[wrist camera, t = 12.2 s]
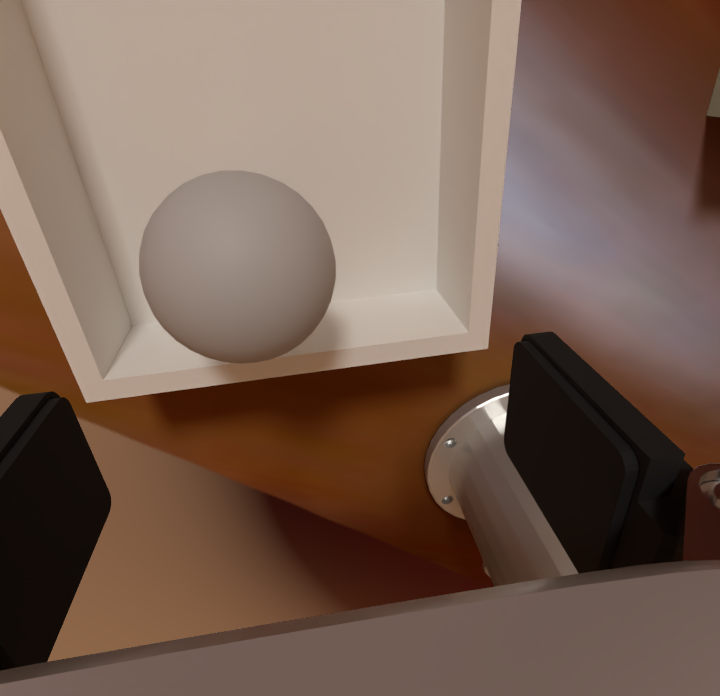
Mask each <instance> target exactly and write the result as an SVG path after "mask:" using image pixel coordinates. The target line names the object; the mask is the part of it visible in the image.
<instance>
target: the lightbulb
mask: <svg viewBox="0 0 720 696" xmlns="http://www.w3.org/2000/svg"><path fill="white" fill-rule="evenodd" d="M139 275H140V280H141V284H142V288H143V292H144V295H145V298H146V300H147V302H148V304H149V307H150V309H151V311H152V313H153V315H154V316H155V318H156V319H157V320H158V322H159V323H160V325H161V326H162V327H163V329H164V330H165V331H167V332H168V333H169V334H170V335H171V336H172V337H173V338H174V339H175V340H176V341H177V342H179V343H180V344H182V345H183V346H185V347H186V348H188V349H189V350H191V351H193V352H195V353H198V354H200V355H202V356H204V357H207V358H210V359H214V360H218V361H222V362H229V363H239V364H242V363H257V362H261V361H266V360H270V359H274V358H276V357H278V356H281V355H283V354H285V353H288V352H289V351H291V350H292V349H294V348H295V347H297V346H298V345H300V344H301V343H302V342H303V341H304V340H305V339H306V338H307V337H308V336H309V335H311V334H312V332H313V331H314V330H315V329H316V327H317V326H318V324H319V323H320V322H321V320H322V319H323V317H324V316H325V314H326V311H327V309H328V307H329V304H330V302H331V299H332V295H333V290H334V285H335V280H336V260H335V255H334V251H333V246H332V242H331V239H330V237H329V234H328V232H327V230H326V227H325V225H324V223H323V221H322V220H321V218H320V217H319V215H318V214H317V213H316V211H315V210H314V208H313V207H312V206H311V205H310V204H309V203H308V202H307V201H306V200H305V199H304V198H303V197H302V196H301V195H300V194H299V193H297V192H296V191H294V190H293V189H291V188H290V187H288V186H287V185H285V184H284V183H282V182H280V181H277V180H275V179H273V178H270V177H268V176H265V175H263V174H258V173H253V172H247V171H242V170H237V171H217V172H213V173H208V174H204V175H200V176H198V177H196V178H194V179H192V180H189V181H187V182H185V183H183V184H182V185H181V186H179V187H178V188H177V189H175V190H174V191H173V192H171V193H170V194H169V195H168V196H167V197H166V198H165V199H164V200H163V202H162V203H161V204H160V205H159V206H158V208H157V209H156V210H155V211H154V212H153V214H152V216H151V218H150V220H149V222H148V224H147V226H146V228H145V230H144V233H143V238H142V242H141V247H140V253H139Z"/></svg>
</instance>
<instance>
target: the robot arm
mask: <svg viewBox="0 0 720 696" xmlns="http://www.w3.org/2000/svg"><path fill="white" fill-rule="evenodd" d="M684 456H685V453H684V452H683V451H682V450H681V449H679V448H678V447H677V446H676V445H675V444H674V443H673V442H672V441H671V440H670V439H669V438H668V437H666V436H665V435H664V434H663V433H662V432H661V431H660V430H659V429H658V428H657V427H656V426H655V425H653V424H652V423H651V422H650V421H649V420H648V419H647V418H646V417H645V416H644V415H643V414H641V413H640V412H639V411H638V410H637V409H636V408H635V407H634V406H633V405H632V404H631V403H630V402H628V401H627V400H626V399H625V398H624V397H623V396H622V395H621V394H620V393H619V392H618V391H617V390H615V389H614V388H613V387H612V386H611V385H610V384H609V383H608V382H607V381H606V380H605V379H604V378H602V377H601V376H600V375H599V374H598V373H597V372H596V371H595V370H594V369H593V368H592V367H590V366H589V365H588V364H587V363H586V362H585V361H584V360H583V359H582V358H581V357H580V356H579V355H577V354H576V353H575V352H574V351H573V350H572V349H571V348H570V347H569V346H568V345H567V344H566V343H564V342H563V341H562V340H561V339H560V338H559V337H558V336H557V335H556V334H555V333H553V332H543V333H535V334H526V335H524V336H523V338H522V340H521V342H517V343H516V344H515V346H514V351H513V360H512V369H511V378H510V384H509V385H505V386H501V387H497V388H495V389H492V390H490V391H488V392H485V393H483V394H481V395H479V396H477V397H475V398H474V399H472V400H470V401H469V402H467V403H465V404H464V405H463V406H461V407H460V408H459V409H458V410H457V411H455V412H454V413H453V414H452V415H450V417H449V418H448V419H447V420H446V421H445V422H444V423H443V424H442V425H441V427H440V428H439V429H438V431H437V432H436V434H435V435H434V437H433V439H432V440H431V442H430V445H429V447H428V450H427V453H426V457H425V464H424V471H425V479H426V482H427V485H428V488H429V490H430V493H431V495H432V496H433V498H434V500H435V502H436V503H437V504H438V505H439V506H440V507H441V508H442V509H443V510H445V511H446V512H448V513H450V514H451V515H453V516H455V517H458V518H461V519H464V520H466V521H467V524H468V526H469V528H470V531H471V533H472V535H473V538H474V540H475V542H476V545H477V547H478V549H479V552H480V554H481V556H482V559H483V565H482V567H483V570H484V572H485V573H486V574H487V575H488V576H489V577H491V580H492V582H493V584H494V587H490V588H484V589H477V590H471V591H465V592H459V593H453V594H447V595H441V596H434V597H428V598H422V599H416V600H409V601H403V602H398V603H391V604H385V605H379V606H373V607H367V608H361V609H355V610H349V611H343V612H337V613H331V614H325V615H320V616H313V617H307V618H301V619H295V620H289V621H283V622H278V623H271V624H266V625H260V626H254V627H248V628H242V629H236V630H231V631H224V632H218V633H212V634H207V635H200V636H195V637H189V638H183V639H177V640H171V641H166V642H160V643H154V644H148V645H142V646H137V647H131V648H126V649H119V650H114V651H108V652H102V653H96V654H90V655H85V656H79V657H74V658H67V659H62V660H57V661H51V662H47V661H48V658H49V656H50V653H51V651H52V648H53V646H54V643H55V641H56V639H57V636H58V634H59V632H60V629H61V627H62V625H63V622H64V620H65V617H66V615H67V613H68V610H69V608H70V605H71V603H72V600H73V598H74V596H75V593H76V591H77V588H78V586H79V584H80V581H81V579H82V576H83V574H84V572H85V569H86V567H87V565H88V562H89V560H90V557H91V555H92V553H93V550H94V548H95V545H96V543H97V541H98V538H99V536H100V533H101V531H102V529H103V526H104V524H105V522H106V519H107V517H108V514H109V512H110V507H111V496H110V493H109V490H108V488H107V486H106V483H105V481H104V479H103V477H102V474H101V472H100V470H99V467H98V465H97V463H96V461H95V459H94V456H93V454H92V452H91V449H90V447H89V445H88V443H87V440H86V438H85V436H84V434H83V431H82V429H81V427H80V424H79V422H78V420H77V418H76V415H75V413H74V411H73V408H72V406H71V404H70V402H69V401H68V400H67V399H66V398H64V397H62V398H60V397H59V395H58V394H56V393H55V392H44V393H36V394H28V395H21V396H19V397H18V398H16V399H15V401H14V402H13V403H12V404H11V405H10V406H9V408H8V409H7V410H6V411H5V412H4V413H3V415H2V416H1V417H0V696H720V464H719V463H709V464H705V465H701V466H698V467H696V468H695V469H693V468H692V467H691V466H690V465H689V464H688V463H687V462H685V461H684V460H683V459H684Z"/></svg>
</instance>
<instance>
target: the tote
mask: <svg viewBox="0 0 720 696" xmlns="http://www.w3.org/2000/svg"><path fill="white" fill-rule="evenodd" d="M521 1H522V0H0V209H1V211H2V213H3V216H4V218H5V220H6V222H7V225H8V227H9V229H10V231H11V234H12V236H13V238H14V240H15V243H16V245H17V247H18V250H19V252H20V254H21V256H22V259H23V261H24V263H25V265H26V268H27V270H28V272H29V274H30V277H31V279H32V281H33V283H34V286H35V288H36V290H37V292H38V295H39V297H40V299H41V301H42V304H43V306H44V308H45V310H46V313H47V315H48V317H49V319H50V322H51V324H52V326H53V329H54V331H55V333H56V335H57V338H58V340H59V342H60V344H61V347H62V349H63V351H64V353H65V356H66V358H67V360H68V362H69V365H70V367H71V369H72V371H73V374H74V376H75V378H76V380H77V383H78V385H79V387H80V389H81V392H82V394H83V396H84V398H85V401H86V403H88V402H96V401H103V400H111V399H118V398H125V397H133V396H140V395H148V394H155V393H162V392H170V391H177V390H185V389H192V388H200V387H207V386H214V385H222V384H229V383H237V382H244V381H251V380H259V379H266V378H274V377H281V376H288V375H296V374H303V373H311V372H318V371H326V370H333V369H340V368H348V367H355V366H363V365H370V364H377V363H385V362H392V361H400V360H407V359H414V358H422V357H429V356H437V355H444V354H451V353H459V352H466V351H474V350H481V349H488V341H489V331H490V321H491V310H492V300H493V290H494V279H495V269H496V259H497V248H498V238H499V228H500V218H501V207H502V197H503V187H504V176H505V166H506V156H507V145H508V135H509V125H510V114H511V104H512V94H513V83H514V73H515V63H516V52H517V42H518V32H519V21H520V11H521ZM237 170H242V171H247V172H253V173H258V174H263V175H265V176H268V177H270V178H273V179H275V180H277V181H280V182H282V183H284V184H285V185H287V186H288V187H290V188H291V189H293V190H294V191H296V192H297V193H299V194H300V195H301V196H302V197H303V198H304V199H305V200H306V201H307V202H308V203H309V204H310V205H311V206H312V207H313V208H314V210H315V211H316V213H317V214H318V215H319V217H320V218H321V220H322V221H323V223H324V225H325V227H326V230H327V232H328V234H329V237H330V239H331V242H332V246H333V251H334V255H335V260H336V280H335V285H334V290H333V295H332V299H331V302H330V304H329V307H328V309H327V311H326V314H325V316H324V317H323V319H322V320H321V322H320V323H319V324H318V326H317V327H316V329H315V330H314V331H313V332H312V334H311V335H309V336H308V337H307V338H306V339H305V340H304V341H303V342H302V343H301V344H300V345H298V346H297V347H295V348H294V349H292V350H291V351H289V352H288V353H285V354H283V355H281V356H278V357H276V358H274V359H270V360H266V361H261V362H257V363H242V364H239V363H229V362H222V361H218V360H214V359H210V358H207V357H204V356H202V355H200V354H198V353H195V352H193V351H191V350H189V349H188V348H186V347H185V346H183V345H182V344H180V343H179V342H177V341H176V340H175V339H174V338H173V337H172V336H171V335H170V334H169V333H168V332H167V331H165V330H164V329H163V327H162V326H161V325H160V323H159V322H158V320H157V319H156V318H155V316H154V315H153V313H152V311H151V309H150V307H149V304H148V302H147V300H146V298H145V295H144V292H143V288H142V284H141V280H140V275H139V253H140V247H141V242H142V238H143V233H144V230H145V228H146V226H147V224H148V222H149V220H150V218H151V216H152V214H153V212H154V211H155V210H156V209H157V208H158V206H159V205H160V204H161V203H162V202H163V200H164V199H165V198H166V197H167V196H168V195H169V194H170V193H171V192H173V191H174V190H175V189H177V188H178V187H179V186H181V185H182V184H183V183H185V182H187V181H189V180H192V179H194V178H196V177H198V176H200V175H204V174H208V173H213V172H217V171H237Z"/></svg>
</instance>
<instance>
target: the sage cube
mask: <svg viewBox="0 0 720 696" xmlns="http://www.w3.org/2000/svg"><path fill="white" fill-rule="evenodd" d="M707 116H713V117H720V70H719V73H718V77H717V80H716V84H715V87H714V91H713V95H712V98H711V102H710V105H709V109H708V112H707Z"/></svg>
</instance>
